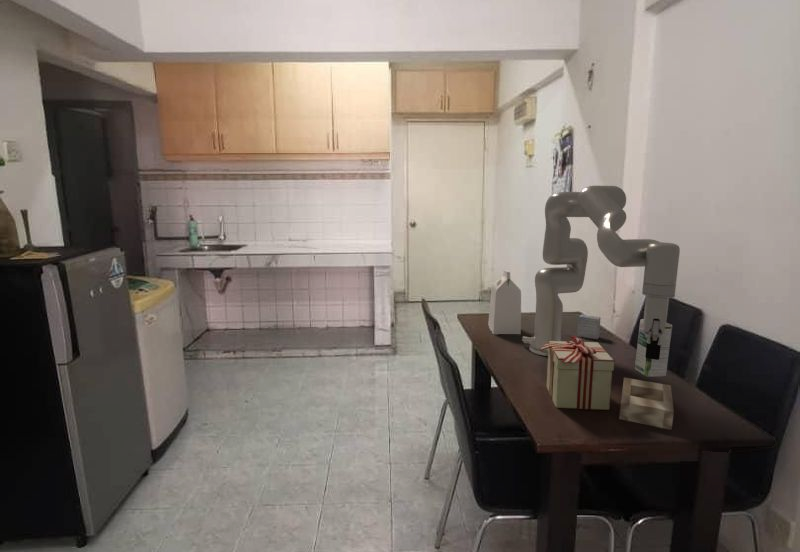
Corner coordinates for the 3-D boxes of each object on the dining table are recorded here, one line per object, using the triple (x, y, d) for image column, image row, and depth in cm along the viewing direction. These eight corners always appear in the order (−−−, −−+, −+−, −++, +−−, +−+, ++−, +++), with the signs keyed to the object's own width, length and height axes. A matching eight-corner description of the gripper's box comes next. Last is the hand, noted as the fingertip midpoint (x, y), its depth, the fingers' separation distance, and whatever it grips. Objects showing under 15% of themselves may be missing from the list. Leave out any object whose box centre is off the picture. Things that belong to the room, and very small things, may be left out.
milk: (520, 334, 193) (524, 273, 189) (493, 334, 194) (496, 273, 189) (514, 326, 205) (517, 268, 200) (488, 326, 205) (490, 268, 201)
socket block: (619, 418, 123) (621, 401, 122) (622, 393, 138) (623, 377, 138) (671, 429, 117) (673, 411, 116) (668, 401, 133) (670, 385, 132)
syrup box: (633, 369, 128) (638, 318, 126) (654, 368, 129) (659, 318, 126) (646, 377, 123) (651, 324, 120) (667, 376, 123) (673, 323, 120)
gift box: (532, 386, 143) (535, 332, 140) (592, 387, 142) (597, 333, 139) (547, 412, 126) (552, 352, 123) (616, 413, 126) (622, 353, 122)
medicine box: (599, 337, 191) (601, 316, 190) (597, 340, 188) (599, 319, 186) (579, 333, 195) (580, 314, 194) (576, 336, 192) (578, 316, 190)
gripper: (642, 283, 131) (636, 342, 134) (642, 294, 116) (635, 361, 119) (673, 285, 127) (666, 346, 131) (677, 297, 112) (669, 366, 115)
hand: (652, 353), depth 125 cm, fingers closed on syrup box, 7 cm apart
